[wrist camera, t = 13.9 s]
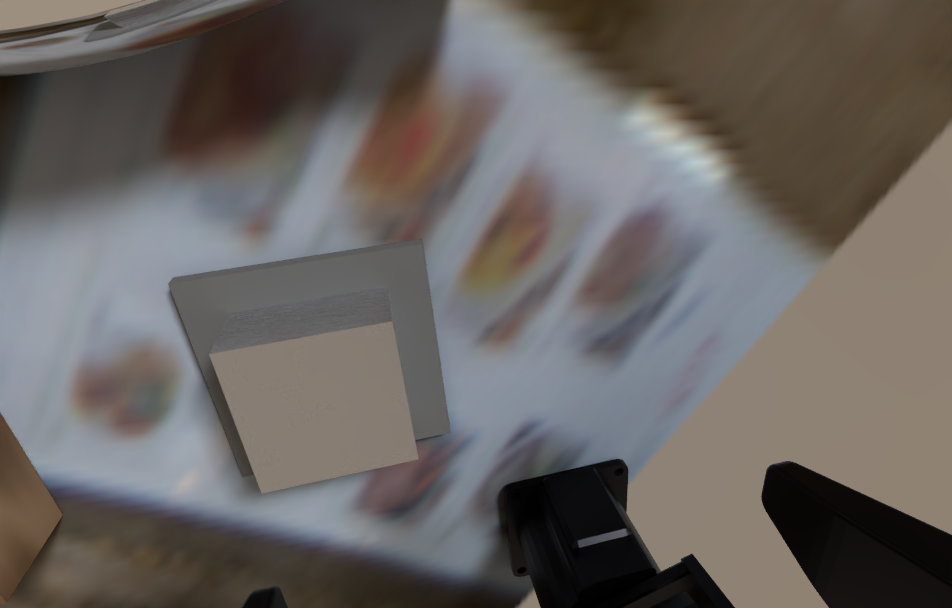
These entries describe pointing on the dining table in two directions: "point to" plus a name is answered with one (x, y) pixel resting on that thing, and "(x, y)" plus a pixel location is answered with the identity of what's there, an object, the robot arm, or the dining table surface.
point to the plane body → (21, 513)
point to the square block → (316, 388)
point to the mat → (316, 277)
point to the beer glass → (104, 29)
